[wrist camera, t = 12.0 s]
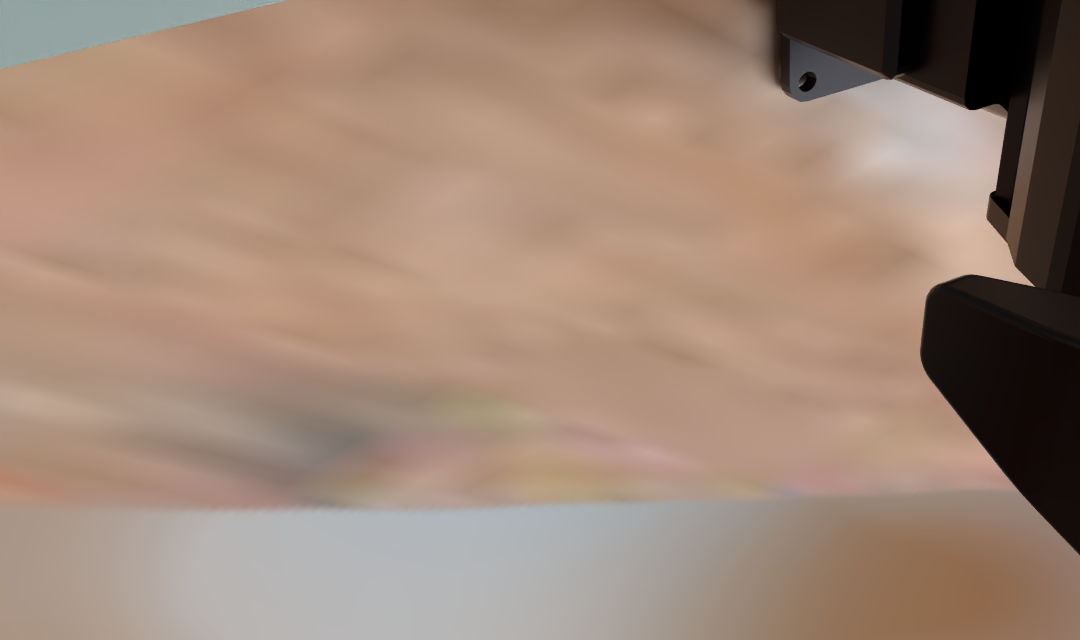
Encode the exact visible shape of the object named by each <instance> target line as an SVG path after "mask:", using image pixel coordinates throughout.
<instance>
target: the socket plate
mask: <svg viewBox="0 0 1080 640" xmlns="http://www.w3.org/2000/svg"><path fill="white" fill-rule="evenodd" d="M281 1H286V0H0V69H2V68H7V67H11V66H15V65H19V64H23V63H27V62H32V61H36V60H40V59H44V58H48V57H52V56H56V55H61V54H65V53H69V52H73V51H77V50H81V49H86V48H90V47H94V46H98V45H102V44H106V43H111V42H115V41H119V40H123V39H127V38H131V37H136V36H140V35H144V34H148V33H152V32H156V31H161V30H165V29H169V28H173V27H177V26H181V25H186V24H190V23H194V22H198V21H202V20H206V19H211V18H215V17H219V16H223V15H227V14H231V13H236V12H240V11H244V10H248V9H252V8H256V7H261V6H265V5H269V4H273V3H277V2H281Z"/></svg>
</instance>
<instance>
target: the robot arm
mask: <svg viewBox="0 0 1080 640" xmlns="http://www.w3.org/2000/svg"><path fill="white" fill-rule="evenodd" d="M777 29H778V31H779V32H781V86H782V90H783V91H784V93H785V94H786V95H788V96H790V97H792V98H793V99H796V100H798V101H800V102H803V101H809V100H813V99H816V98H820V97H823V96H826V95H830V94H833V93H836V92H840V91H843V90H847V89H850V88H853V87H857V86H860V85H863V84H867V83H870V82H874V81H877V80H880V79H886V80H892V79H895V80H898V81H900V82H903V83H905V84H907V85H910V86H912V87H915V88H917V89H920V90H922V91H924V92H927V93H929V94H932V95H934V96H937V97H939V98H941V99H944V100H946V101H949V102H951V103H954V104H956V105H958V106H961V107H963V108H966V109H968V110H977V109H980V108H981V109H983V110H986V111H988V112H991V113H993V114H996V115H998V116H1001V117H1003V118H1006V119H1007V121H1006V128H1005V134H1004V141H1003V147H1002V154H1001V160H1000V167H999V173H998V180H997V186H996V191H994V192H992V193H991V194H990V196H989V203H988V210H987V216H986V217H987V220H988V221H989V222H990V223H991V225H992V226H993V227H994V228H995V229H996V230H997V232H998V233H999V234H1000V235H1001V236H1002V237H1003V239H1004V240H1005V241H1006V242H1007V243H1008V246H1009V249H1010V252H1011V256H1012V259H1013V262H1014V265H1015V267H1016V268H1017V269H1018V270H1019V271H1020V272H1021V273H1022V274H1023V275H1024V276H1025V277H1026V278H1027V279H1028V280H1029V281H1030V282H1031V283H1032V284H1033V285H1034V286H1035V287H1033V286H1028V285H1023V284H1018V283H1013V282H1009V281H1004V280H999V279H994V278H989V277H984V276H979V275H973V274H972V275H964V276H960V277H957V278H954V279H952V280H949V281H946V282H943V283H940V284H938V285H936V286H934V287H933V288H932V289H931V290H930V292H929V293H928V295H927V297H926V302H925V311H924V320H923V329H922V338H921V347H920V356H921V362H922V365H923V368H924V370H925V372H926V374H927V375H928V377H929V378H930V380H931V381H932V382H933V383H934V385H935V386H936V387H937V388H938V390H939V391H940V392H941V394H942V395H943V396H944V397H945V399H946V400H947V401H948V402H949V404H950V405H951V406H952V408H953V409H954V410H955V411H956V413H957V414H958V415H959V416H960V418H961V419H962V420H963V422H964V423H965V424H966V425H967V427H968V428H969V429H970V430H971V432H972V433H973V434H974V436H975V437H976V438H977V439H978V441H979V442H980V443H981V444H982V446H983V447H984V448H985V449H986V451H987V452H988V453H989V455H990V456H991V457H992V458H993V460H994V461H995V462H996V463H997V465H998V466H999V467H1000V469H1001V470H1002V471H1003V472H1004V474H1005V475H1006V476H1007V477H1008V478H1009V480H1010V481H1011V482H1012V483H1013V484H1014V486H1015V487H1016V488H1017V489H1018V490H1019V492H1020V493H1021V494H1022V495H1023V496H1024V497H1025V498H1026V499H1027V500H1028V501H1029V503H1031V505H1032V506H1033V507H1034V508H1035V509H1036V510H1037V511H1038V512H1039V513H1040V514H1041V515H1042V516H1043V517H1044V519H1045V520H1046V521H1047V522H1048V523H1049V524H1050V525H1051V526H1052V527H1053V528H1054V529H1055V530H1056V531H1057V532H1058V533H1059V534H1060V535H1061V536H1062V537H1063V538H1064V539H1065V540H1066V541H1067V542H1068V543H1069V545H1070V546H1072V548H1073V549H1074V550H1075V551H1076V552H1077V553H1078V554H1079V555H1080V0H777ZM806 72H807V79H806V81H805V83H804V84H803V85H802V86H800V87H799V85H798V84H799V79H800V78H801V76H802V75H803V74H805V73H806Z"/></svg>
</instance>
